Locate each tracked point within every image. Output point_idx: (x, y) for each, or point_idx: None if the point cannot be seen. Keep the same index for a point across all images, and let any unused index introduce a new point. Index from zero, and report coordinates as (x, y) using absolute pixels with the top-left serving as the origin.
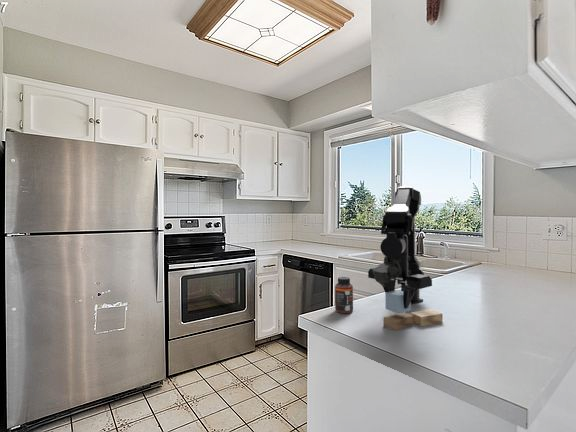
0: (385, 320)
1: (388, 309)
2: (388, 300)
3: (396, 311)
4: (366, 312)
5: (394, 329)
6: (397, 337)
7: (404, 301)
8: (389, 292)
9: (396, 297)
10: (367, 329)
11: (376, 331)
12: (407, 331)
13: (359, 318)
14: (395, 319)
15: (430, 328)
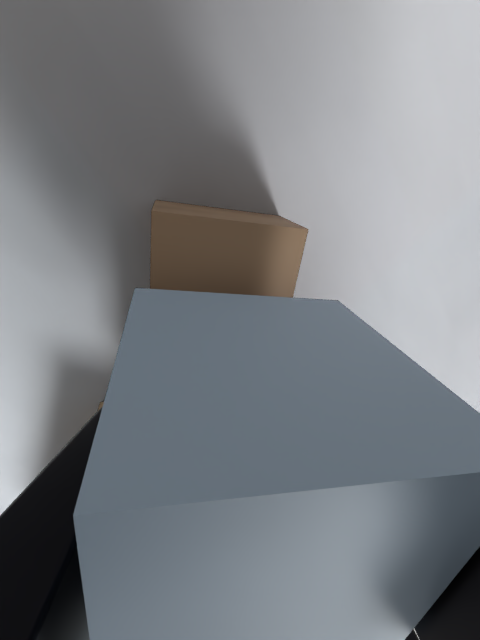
0: (273, 220)
1: (302, 300)
2: (359, 360)
3: (185, 296)
4: (464, 341)
5: (168, 202)
6: (13, 28)
7: (81, 469)
8: (457, 514)
9: (196, 440)
10: (340, 12)
11: (253, 29)
12: (81, 252)
13: (475, 216)
14: (180, 248)
15: (34, 414)
